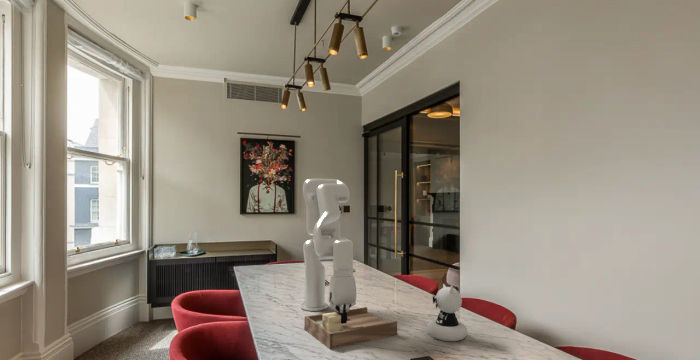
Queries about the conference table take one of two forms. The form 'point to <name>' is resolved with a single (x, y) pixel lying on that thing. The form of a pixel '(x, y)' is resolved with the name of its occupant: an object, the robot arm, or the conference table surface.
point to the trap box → (351, 329)
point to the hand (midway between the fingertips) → (342, 322)
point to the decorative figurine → (447, 316)
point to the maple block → (331, 321)
